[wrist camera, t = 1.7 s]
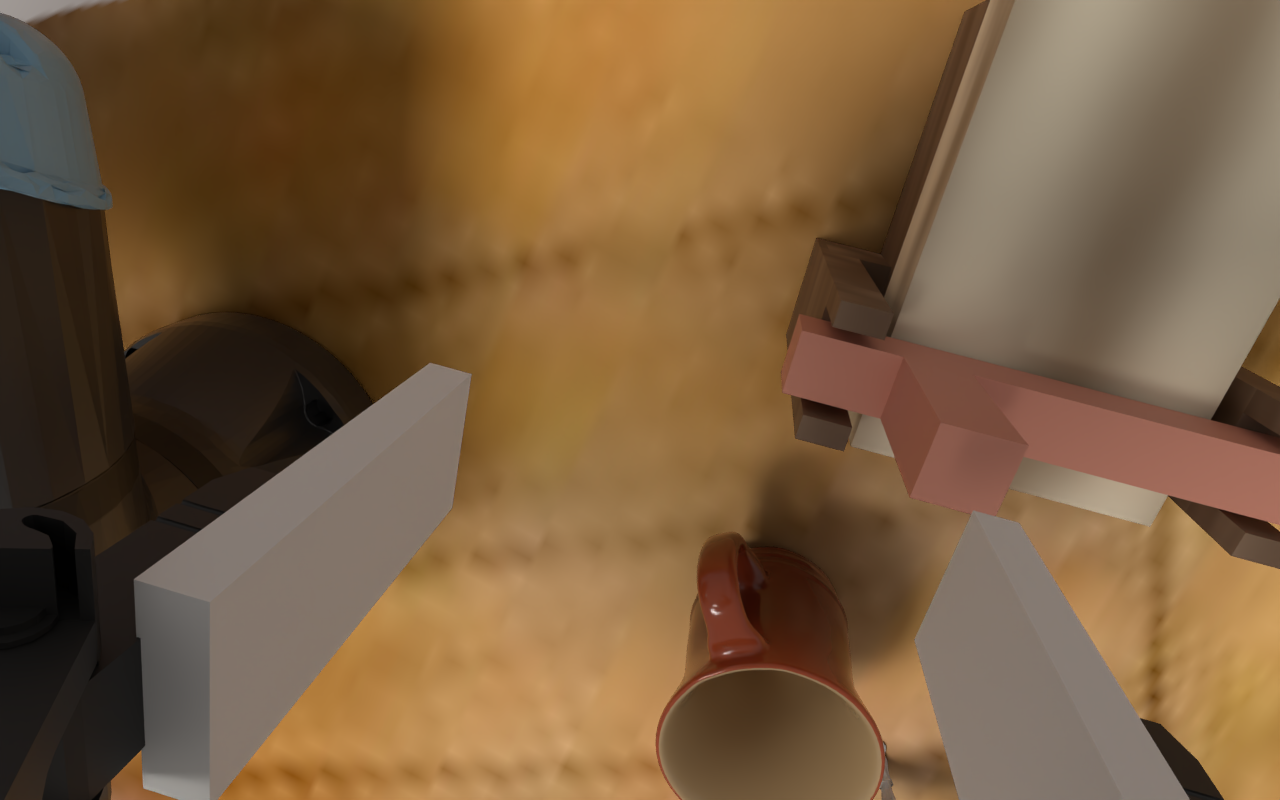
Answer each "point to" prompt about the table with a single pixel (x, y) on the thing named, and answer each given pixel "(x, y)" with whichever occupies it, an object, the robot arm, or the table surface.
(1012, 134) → the lid
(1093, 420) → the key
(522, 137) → the table surface
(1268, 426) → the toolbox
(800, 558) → the mug
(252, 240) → the table surface
